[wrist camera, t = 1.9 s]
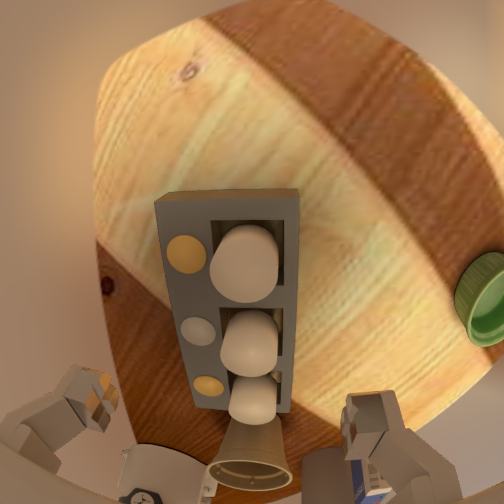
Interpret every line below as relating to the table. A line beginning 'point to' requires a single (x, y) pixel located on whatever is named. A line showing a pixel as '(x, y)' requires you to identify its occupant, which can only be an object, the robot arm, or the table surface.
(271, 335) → the button
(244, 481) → the flower pot
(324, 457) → the cup
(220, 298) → the board
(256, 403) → the button
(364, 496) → the walkman
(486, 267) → the ramekin
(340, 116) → the table surface
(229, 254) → the button
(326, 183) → the table surface
